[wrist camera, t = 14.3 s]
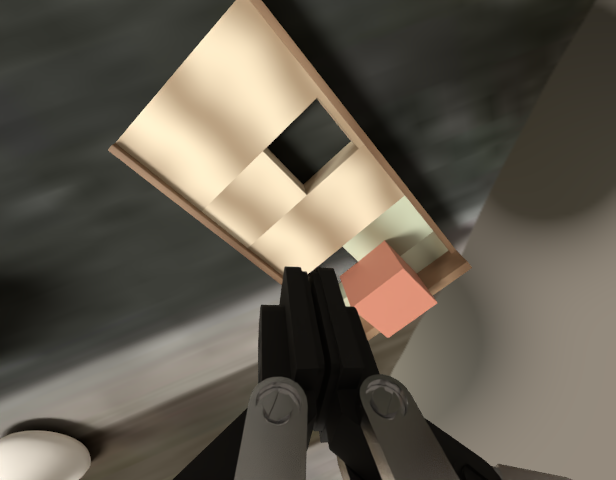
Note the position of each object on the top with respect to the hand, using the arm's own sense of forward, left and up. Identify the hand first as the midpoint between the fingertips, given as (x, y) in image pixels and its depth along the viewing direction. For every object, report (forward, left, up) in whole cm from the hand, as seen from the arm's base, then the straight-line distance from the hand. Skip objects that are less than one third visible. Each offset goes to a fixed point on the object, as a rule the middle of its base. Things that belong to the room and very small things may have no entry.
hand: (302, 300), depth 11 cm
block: (+1, +15, -16) cm, 22 cm away
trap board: (+1, +4, -19) cm, 19 cm away
